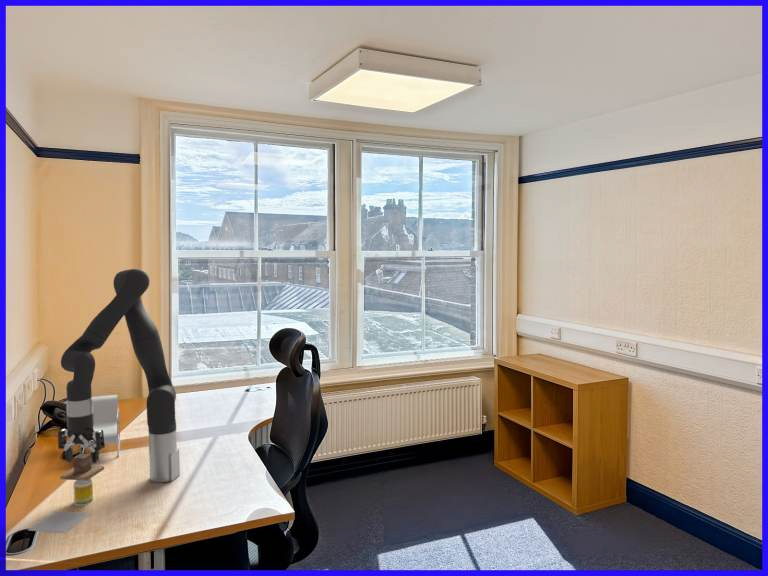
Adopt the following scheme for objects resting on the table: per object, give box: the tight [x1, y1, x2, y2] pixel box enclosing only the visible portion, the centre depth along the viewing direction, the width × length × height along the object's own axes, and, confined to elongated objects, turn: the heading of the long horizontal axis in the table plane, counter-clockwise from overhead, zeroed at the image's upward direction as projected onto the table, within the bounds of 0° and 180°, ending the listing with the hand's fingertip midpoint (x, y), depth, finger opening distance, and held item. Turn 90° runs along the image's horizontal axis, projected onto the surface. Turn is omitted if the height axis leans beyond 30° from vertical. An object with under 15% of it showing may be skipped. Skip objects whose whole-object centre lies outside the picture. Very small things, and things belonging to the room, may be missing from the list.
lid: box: [59, 453, 105, 481], centre depth 187 cm, size 9×9×6 cm
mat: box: [27, 510, 92, 534], centre depth 175 cm, size 12×12×1 cm
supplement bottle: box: [73, 478, 94, 507], centre depth 188 cm, size 5×5×10 cm
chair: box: [79, 394, 121, 457], centre depth 234 cm, size 13×25×20 cm, turn 23°
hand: (82, 461), depth 187 cm, fingers open, 8 cm apart
